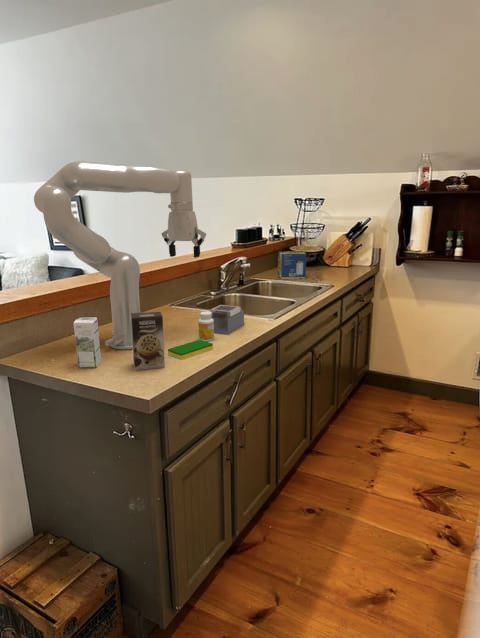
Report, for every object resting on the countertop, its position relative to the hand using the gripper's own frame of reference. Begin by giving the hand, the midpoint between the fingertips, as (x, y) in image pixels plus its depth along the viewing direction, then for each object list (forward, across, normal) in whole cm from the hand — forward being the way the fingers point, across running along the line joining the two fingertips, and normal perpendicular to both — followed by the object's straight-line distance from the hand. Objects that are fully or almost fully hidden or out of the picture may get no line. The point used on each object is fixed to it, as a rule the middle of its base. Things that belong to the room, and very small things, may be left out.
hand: (184, 256), depth 168 cm
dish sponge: (+29, +11, -20) cm, 37 cm away
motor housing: (+29, +11, +11) cm, 33 cm away
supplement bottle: (+29, +10, -6) cm, 31 cm away
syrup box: (+28, -12, -41) cm, 51 cm away
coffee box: (+28, +5, -35) cm, 45 cm away
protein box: (+31, +5, +123) cm, 127 cm away
